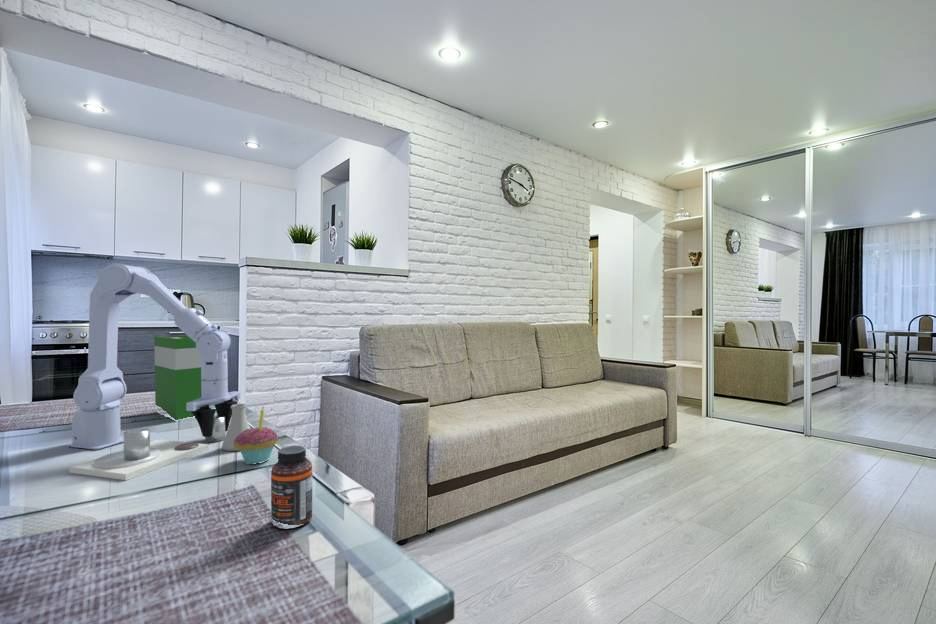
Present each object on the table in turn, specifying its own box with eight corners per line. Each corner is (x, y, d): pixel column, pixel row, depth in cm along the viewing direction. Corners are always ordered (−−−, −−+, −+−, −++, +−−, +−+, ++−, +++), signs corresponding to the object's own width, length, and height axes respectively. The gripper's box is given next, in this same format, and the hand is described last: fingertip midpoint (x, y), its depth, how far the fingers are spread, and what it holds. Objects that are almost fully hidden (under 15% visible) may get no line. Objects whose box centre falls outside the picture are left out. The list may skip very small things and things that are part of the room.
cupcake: (286, 456, 99) (286, 402, 99) (257, 470, 91) (256, 411, 91) (256, 452, 102) (255, 400, 102) (224, 465, 94) (223, 408, 94)
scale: (69, 472, 90) (69, 463, 90) (158, 444, 108) (158, 436, 108) (126, 480, 86) (125, 471, 86) (208, 449, 104) (208, 441, 104)
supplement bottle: (262, 529, 67) (261, 454, 67) (285, 511, 73) (284, 442, 73) (299, 533, 66) (298, 456, 66) (319, 514, 72) (319, 443, 72)
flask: (242, 453, 102) (241, 409, 102) (214, 451, 103) (213, 407, 103) (262, 443, 109) (262, 402, 109) (236, 441, 110) (236, 401, 110)
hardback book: (155, 412, 141) (154, 336, 140) (182, 408, 146) (181, 334, 146) (176, 421, 129) (174, 338, 129) (204, 416, 135) (202, 337, 135)
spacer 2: (200, 441, 110) (200, 418, 110) (215, 436, 114) (215, 414, 114) (215, 442, 109) (215, 420, 109) (229, 437, 113) (229, 415, 113)
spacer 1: (120, 458, 93) (119, 432, 93) (144, 452, 97) (143, 427, 97) (129, 462, 91) (129, 435, 91) (154, 456, 94) (153, 430, 94)
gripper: (202, 384, 103) (203, 443, 104) (249, 375, 117) (250, 427, 118) (178, 383, 105) (179, 441, 106) (227, 374, 119) (228, 425, 120)
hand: (215, 433), depth 112 cm, fingers closed on spacer 2, 4 cm apart
